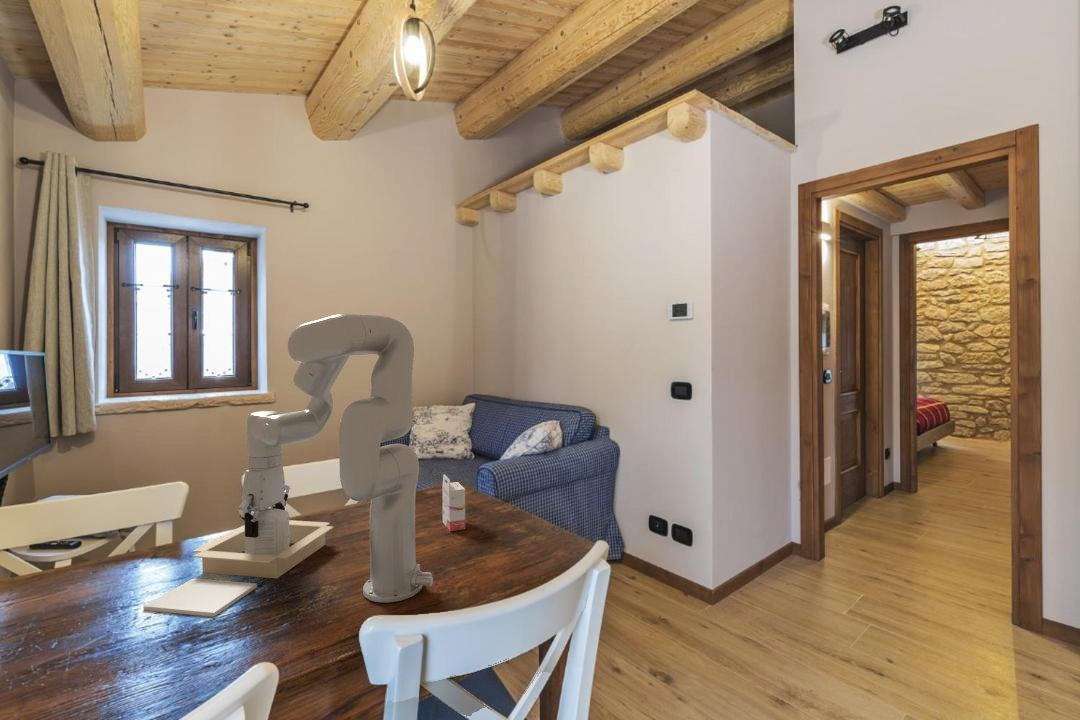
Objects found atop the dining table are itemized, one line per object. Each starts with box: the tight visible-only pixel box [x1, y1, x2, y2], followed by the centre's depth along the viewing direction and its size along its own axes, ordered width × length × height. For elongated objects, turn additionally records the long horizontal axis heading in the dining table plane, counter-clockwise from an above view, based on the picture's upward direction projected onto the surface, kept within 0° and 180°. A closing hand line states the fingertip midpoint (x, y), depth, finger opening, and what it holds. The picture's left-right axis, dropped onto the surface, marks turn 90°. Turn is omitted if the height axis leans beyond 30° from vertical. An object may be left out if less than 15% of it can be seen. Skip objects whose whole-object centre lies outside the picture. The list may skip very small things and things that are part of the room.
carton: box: [192, 519, 335, 579], centre depth 127 cm, size 24×24×5 cm
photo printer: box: [243, 507, 290, 556], centre depth 126 cm, size 10×4×12 cm, turn 98°
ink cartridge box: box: [442, 473, 466, 532], centre depth 148 cm, size 9×5×15 cm, turn 25°
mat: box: [143, 578, 258, 618], centre depth 107 cm, size 16×12×1 cm
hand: (265, 529), depth 127 cm, fingers open, 9 cm apart
